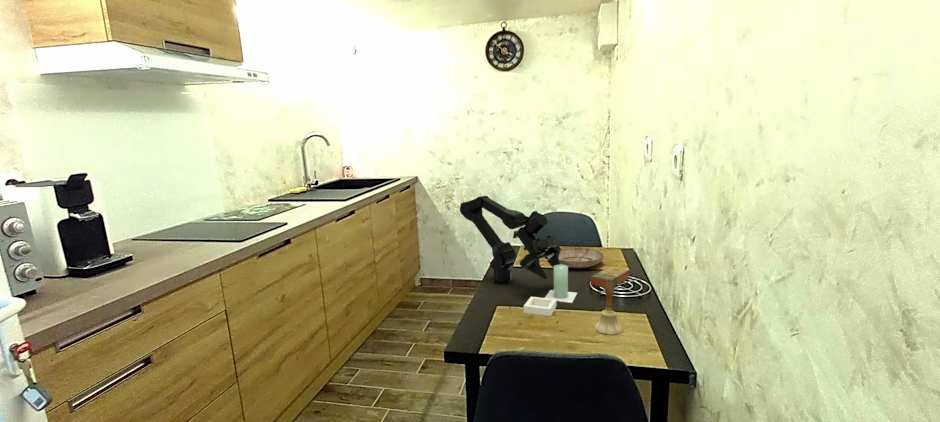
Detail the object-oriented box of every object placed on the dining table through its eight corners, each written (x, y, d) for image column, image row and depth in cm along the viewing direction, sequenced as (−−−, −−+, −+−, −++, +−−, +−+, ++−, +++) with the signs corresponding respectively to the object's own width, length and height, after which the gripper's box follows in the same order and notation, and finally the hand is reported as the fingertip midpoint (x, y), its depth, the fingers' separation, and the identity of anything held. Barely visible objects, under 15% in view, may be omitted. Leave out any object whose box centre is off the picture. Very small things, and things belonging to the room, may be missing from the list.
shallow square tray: (523, 314, 157) (523, 306, 156) (530, 304, 165) (530, 296, 164) (550, 317, 153) (550, 309, 153) (556, 307, 161) (556, 299, 161)
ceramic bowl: (610, 260, 213) (610, 249, 212) (593, 275, 194) (594, 263, 193) (561, 254, 226) (561, 244, 225) (541, 267, 206) (541, 257, 205)
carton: (628, 279, 188) (629, 269, 187) (610, 290, 177) (610, 279, 176) (609, 275, 194) (609, 265, 193) (590, 286, 182) (590, 275, 181)
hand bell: (603, 321, 150) (604, 273, 147) (627, 328, 144) (629, 278, 141) (589, 329, 144) (589, 279, 141) (613, 337, 138) (615, 285, 135)
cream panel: (543, 301, 167) (543, 299, 167) (550, 291, 176) (550, 289, 176) (572, 304, 164) (572, 302, 163) (577, 294, 173) (577, 292, 172)
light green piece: (555, 298, 167) (555, 269, 165) (552, 293, 172) (552, 264, 170) (569, 297, 168) (569, 268, 166) (565, 293, 172) (565, 264, 170)
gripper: (526, 233, 165) (551, 269, 159) (557, 224, 178) (582, 257, 172) (509, 250, 172) (533, 286, 166) (540, 240, 185) (563, 273, 179)
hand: (553, 275), depth 171 cm, fingers open, 9 cm apart
